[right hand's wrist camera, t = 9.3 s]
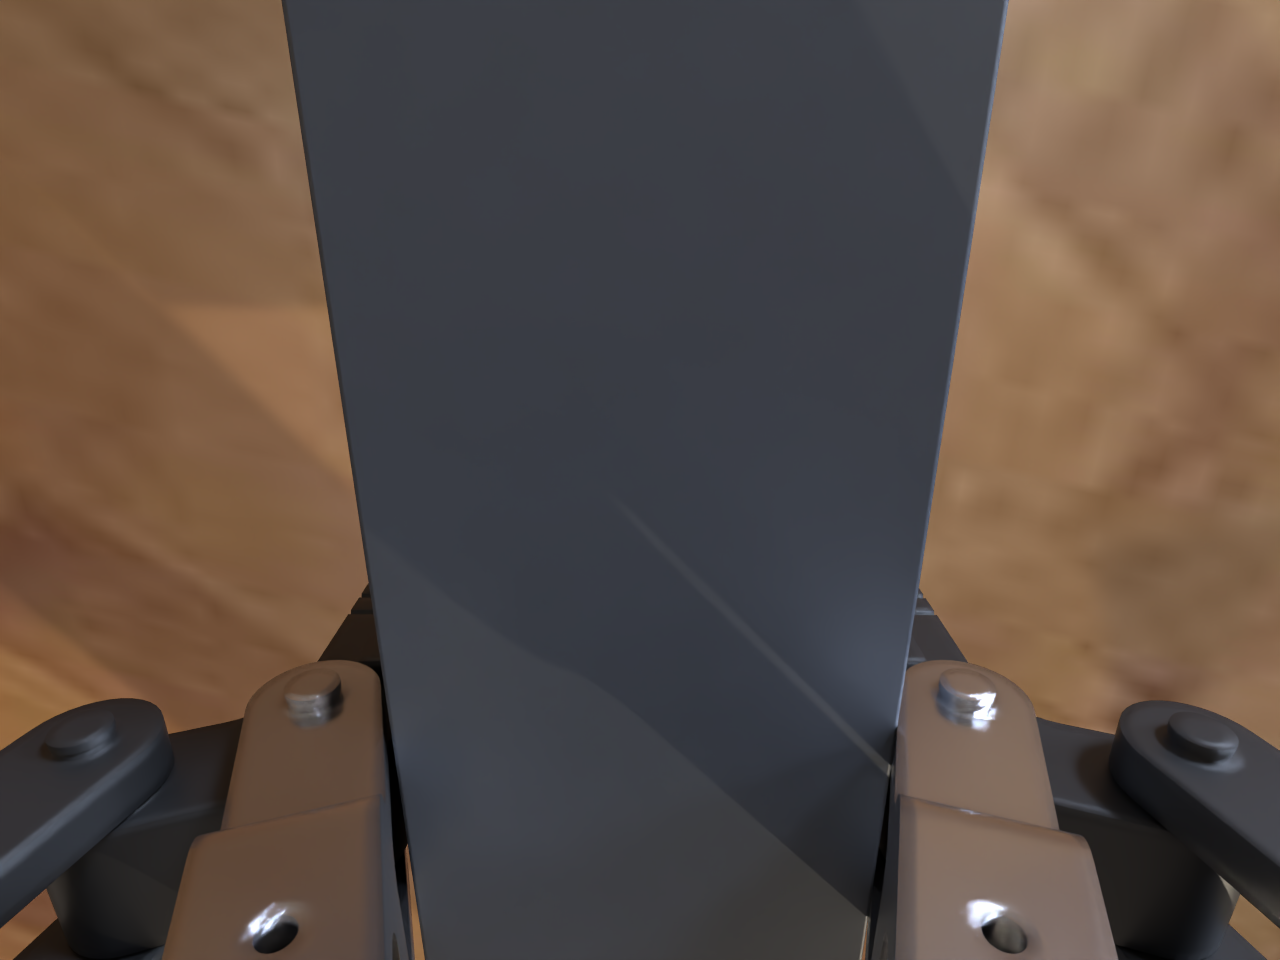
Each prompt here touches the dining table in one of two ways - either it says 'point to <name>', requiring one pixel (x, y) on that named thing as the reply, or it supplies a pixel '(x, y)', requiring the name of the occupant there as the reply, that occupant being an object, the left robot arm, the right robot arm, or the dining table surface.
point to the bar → (644, 440)
